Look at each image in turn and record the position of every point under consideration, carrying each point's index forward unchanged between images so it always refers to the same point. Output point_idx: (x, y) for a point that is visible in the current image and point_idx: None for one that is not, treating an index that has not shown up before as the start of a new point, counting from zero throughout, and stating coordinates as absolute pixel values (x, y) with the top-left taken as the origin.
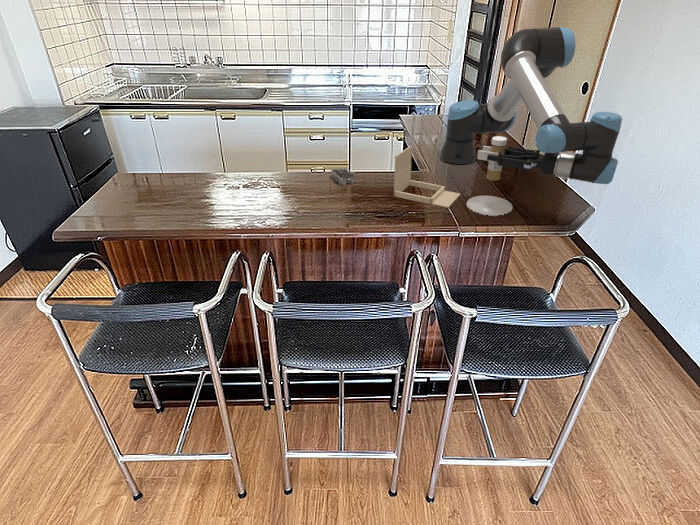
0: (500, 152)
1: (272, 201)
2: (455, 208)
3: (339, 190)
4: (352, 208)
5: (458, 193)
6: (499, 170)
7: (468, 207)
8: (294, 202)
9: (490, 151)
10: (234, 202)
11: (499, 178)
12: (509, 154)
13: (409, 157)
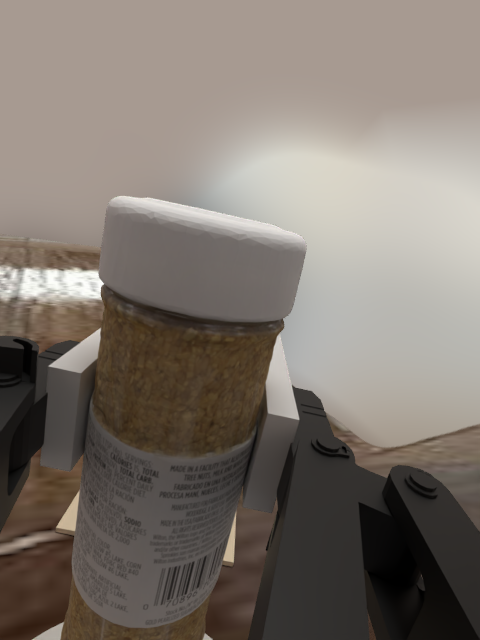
0: (34, 350)
1: (79, 293)
2: (52, 564)
3: None
4: (49, 346)
5: (230, 552)
6: (86, 602)
7: (53, 630)
8: (77, 304)
9: None
10: (71, 277)
11: None
12: (271, 548)
13: None
